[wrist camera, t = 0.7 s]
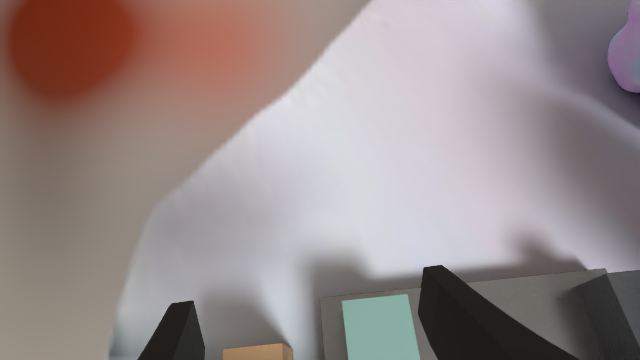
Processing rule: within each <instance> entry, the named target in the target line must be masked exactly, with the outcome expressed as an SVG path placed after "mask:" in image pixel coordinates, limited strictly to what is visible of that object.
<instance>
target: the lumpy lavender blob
mask: <svg viewBox="0 0 640 360" xmlns="http://www.w3.org/2000/svg"><path fill="white" fill-rule="evenodd" d="M607 59H608V65H609V68H610V70H611V72H612V74H613V76H614V78H615V80H616V81H617V83H618V85H619V86H621V87H622V88H623V89H624V90H627V91H629V92H636V93H640V0H632V1H631V3H630V6H629V9H628V21H627V23H626V25H625V26H624V27H623V28H622V29H621V30H620V31H618V32H617V33H616V34H615V35H614V36H613V38H612V40H611V42H610V44H609V48H608V55H607Z"/></svg>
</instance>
